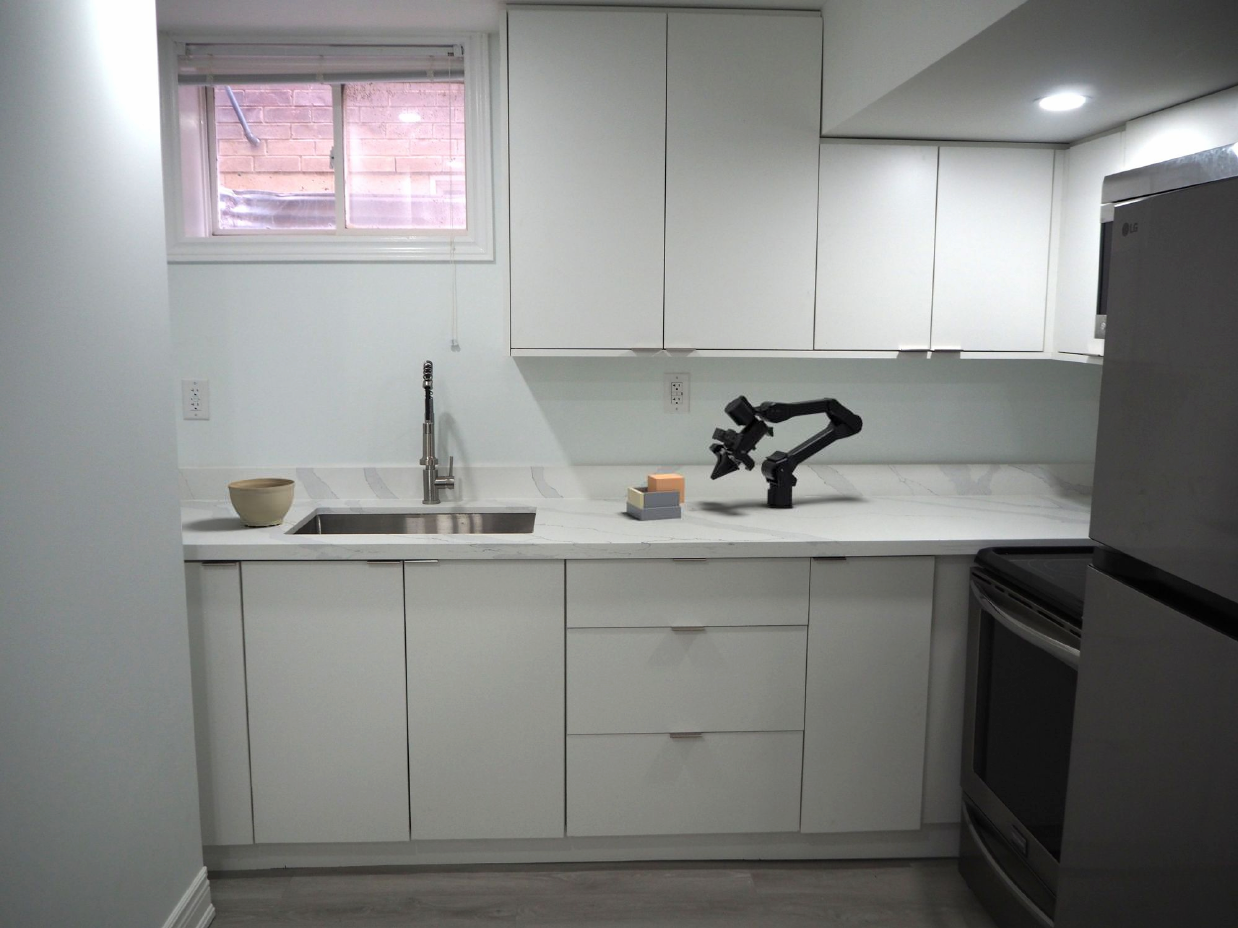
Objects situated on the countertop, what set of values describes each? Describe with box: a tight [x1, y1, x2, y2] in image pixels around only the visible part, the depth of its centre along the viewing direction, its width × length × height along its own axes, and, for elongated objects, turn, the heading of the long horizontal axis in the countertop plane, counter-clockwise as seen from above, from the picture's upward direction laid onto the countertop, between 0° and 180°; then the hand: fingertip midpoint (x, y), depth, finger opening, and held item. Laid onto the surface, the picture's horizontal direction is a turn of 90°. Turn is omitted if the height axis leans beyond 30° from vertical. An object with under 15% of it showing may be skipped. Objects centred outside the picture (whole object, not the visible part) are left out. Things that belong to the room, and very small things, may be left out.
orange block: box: [647, 473, 686, 505], centre depth 252 cm, size 8×7×7 cm
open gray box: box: [626, 486, 682, 522], centre depth 251 cm, size 11×12×7 cm
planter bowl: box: [227, 477, 296, 527], centre depth 240 cm, size 16×16×11 cm
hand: (711, 478), depth 256 cm, fingers closed
